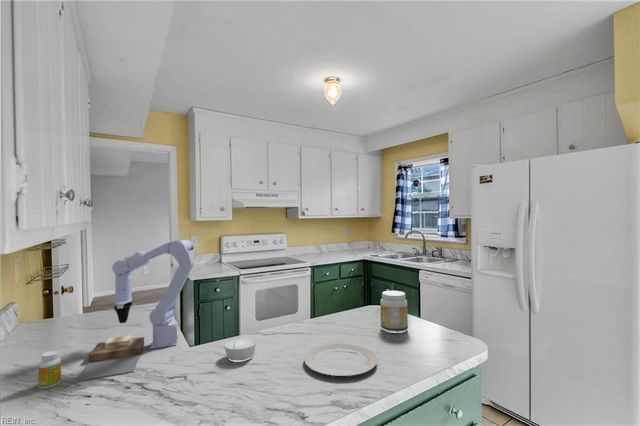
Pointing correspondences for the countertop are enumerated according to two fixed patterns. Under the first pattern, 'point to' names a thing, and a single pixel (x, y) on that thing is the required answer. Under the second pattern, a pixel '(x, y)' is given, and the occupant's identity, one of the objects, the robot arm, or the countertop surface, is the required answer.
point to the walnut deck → (116, 350)
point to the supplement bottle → (49, 370)
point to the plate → (366, 352)
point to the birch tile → (118, 342)
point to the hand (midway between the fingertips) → (123, 321)
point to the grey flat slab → (108, 368)
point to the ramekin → (240, 348)
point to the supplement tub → (394, 311)
